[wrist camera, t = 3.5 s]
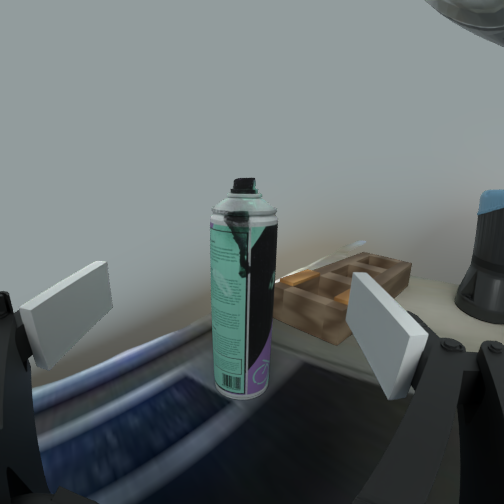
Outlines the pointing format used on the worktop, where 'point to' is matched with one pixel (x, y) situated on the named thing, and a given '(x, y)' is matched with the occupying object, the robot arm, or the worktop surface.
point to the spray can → (242, 290)
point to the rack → (333, 293)
